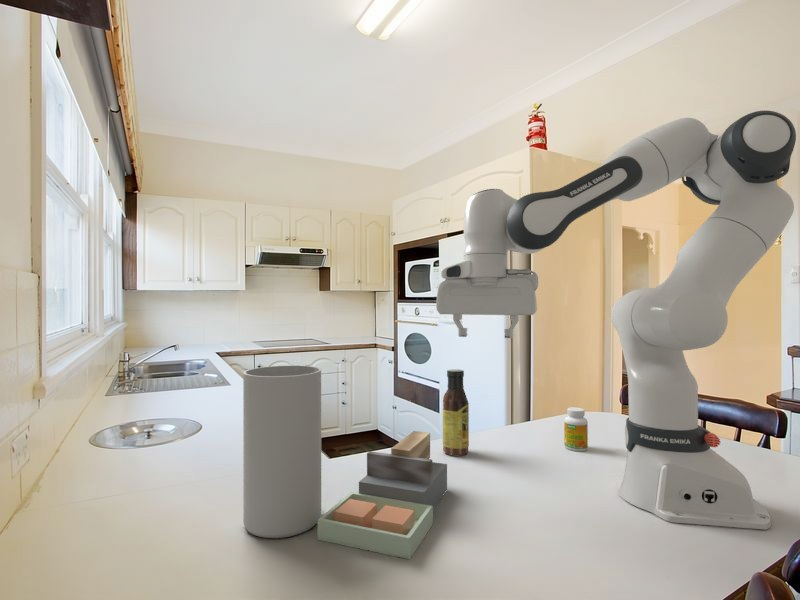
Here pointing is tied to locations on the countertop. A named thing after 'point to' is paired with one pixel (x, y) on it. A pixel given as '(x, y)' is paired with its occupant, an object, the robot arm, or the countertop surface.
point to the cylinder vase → (281, 450)
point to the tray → (373, 537)
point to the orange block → (356, 513)
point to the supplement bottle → (576, 430)
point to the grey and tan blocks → (404, 460)
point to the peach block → (394, 520)
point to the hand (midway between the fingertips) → (485, 337)
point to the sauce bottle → (455, 415)
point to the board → (408, 487)
